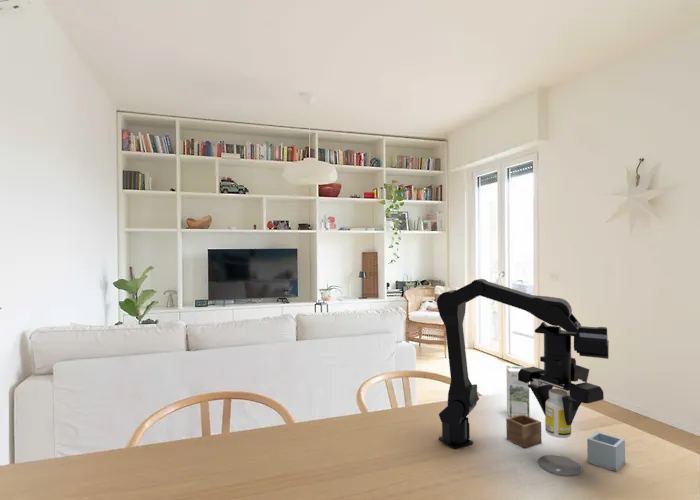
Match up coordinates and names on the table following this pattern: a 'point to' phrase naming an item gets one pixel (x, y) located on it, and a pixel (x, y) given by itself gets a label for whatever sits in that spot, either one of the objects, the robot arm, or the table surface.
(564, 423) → the supplement bottle
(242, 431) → the table surface
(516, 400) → the syrup box
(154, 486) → the table surface
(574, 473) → the coaster
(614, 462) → the slate cup
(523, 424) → the walnut box
